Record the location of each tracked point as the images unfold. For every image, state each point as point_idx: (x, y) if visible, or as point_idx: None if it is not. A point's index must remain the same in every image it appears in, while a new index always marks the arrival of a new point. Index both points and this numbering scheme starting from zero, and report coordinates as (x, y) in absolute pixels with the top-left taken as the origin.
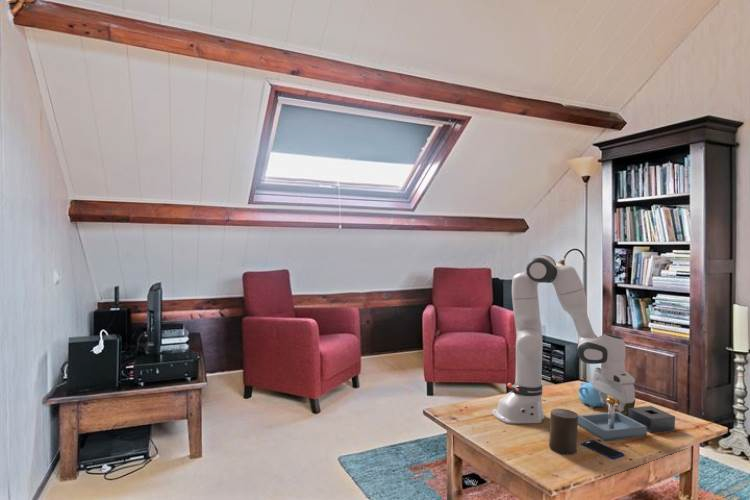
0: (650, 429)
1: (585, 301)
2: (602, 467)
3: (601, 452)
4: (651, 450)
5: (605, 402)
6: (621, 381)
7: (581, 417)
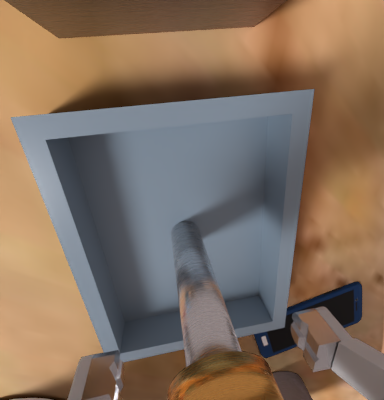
0: (261, 18)
1: None
2: None
3: None
4: (378, 178)
5: (119, 354)
6: None
7: (134, 358)
